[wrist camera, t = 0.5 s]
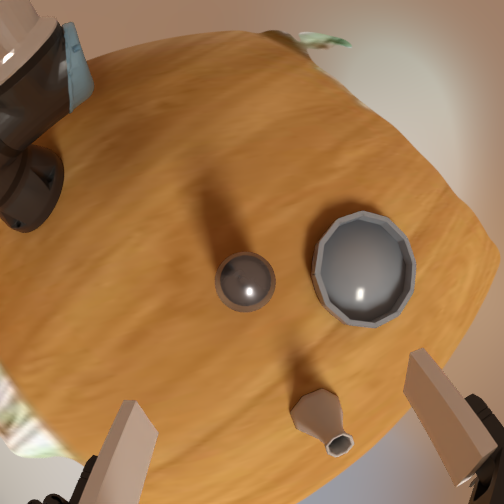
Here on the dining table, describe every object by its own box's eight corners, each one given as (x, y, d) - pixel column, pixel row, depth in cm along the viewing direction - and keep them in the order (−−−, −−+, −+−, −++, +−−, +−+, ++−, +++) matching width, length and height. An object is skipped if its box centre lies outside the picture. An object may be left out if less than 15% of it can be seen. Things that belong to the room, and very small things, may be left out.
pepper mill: (214, 288, 34) (198, 283, 21) (241, 257, 35) (242, 234, 22) (246, 315, 34) (249, 327, 21) (273, 284, 34) (292, 276, 22)
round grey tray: (288, 277, 35) (291, 276, 32) (352, 196, 37) (358, 190, 34) (368, 346, 33) (376, 349, 31) (421, 263, 36) (430, 261, 33)
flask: (323, 378, 33) (351, 404, 23) (350, 411, 32) (380, 440, 22) (280, 411, 32) (293, 447, 22) (309, 442, 31) (329, 479, 21)
